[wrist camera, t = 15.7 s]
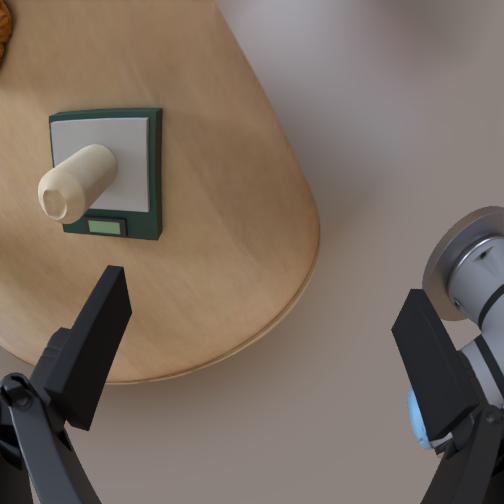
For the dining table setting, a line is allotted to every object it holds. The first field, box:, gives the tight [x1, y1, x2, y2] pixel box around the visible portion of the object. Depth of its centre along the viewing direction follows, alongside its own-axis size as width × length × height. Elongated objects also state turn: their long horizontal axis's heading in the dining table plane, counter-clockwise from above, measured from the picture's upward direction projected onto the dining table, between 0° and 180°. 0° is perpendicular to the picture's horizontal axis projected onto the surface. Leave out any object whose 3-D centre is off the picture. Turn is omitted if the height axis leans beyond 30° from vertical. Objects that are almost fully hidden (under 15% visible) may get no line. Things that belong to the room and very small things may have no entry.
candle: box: [38, 144, 118, 224], centre depth 28 cm, size 6×6×10 cm
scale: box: [49, 108, 162, 241], centre depth 34 cm, size 14×16×3 cm
